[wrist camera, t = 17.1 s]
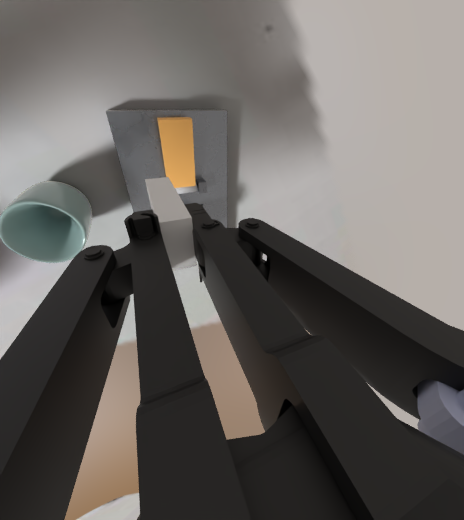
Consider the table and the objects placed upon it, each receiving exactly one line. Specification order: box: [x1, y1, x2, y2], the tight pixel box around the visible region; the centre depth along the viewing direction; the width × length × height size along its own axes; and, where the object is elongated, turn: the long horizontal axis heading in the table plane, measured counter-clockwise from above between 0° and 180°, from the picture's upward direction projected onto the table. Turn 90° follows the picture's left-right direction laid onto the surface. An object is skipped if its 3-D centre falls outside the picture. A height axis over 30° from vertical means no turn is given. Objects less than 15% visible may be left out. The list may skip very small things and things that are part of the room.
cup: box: [0, 181, 92, 263], centre depth 28 cm, size 8×8×10 cm
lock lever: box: [157, 117, 197, 194], centre depth 30 cm, size 4×10×1 cm, turn 0°
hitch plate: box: [106, 109, 227, 228], centre depth 35 cm, size 15×22×5 cm
